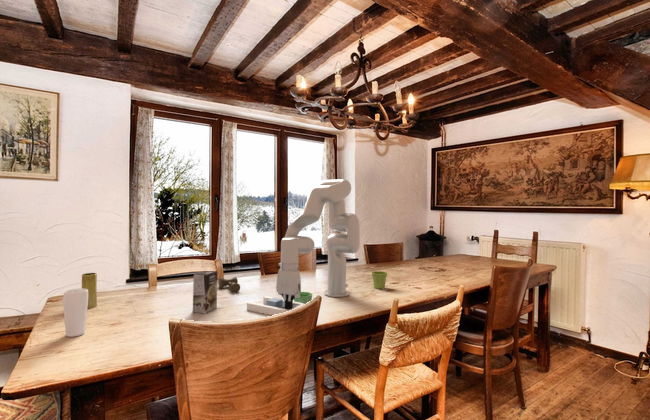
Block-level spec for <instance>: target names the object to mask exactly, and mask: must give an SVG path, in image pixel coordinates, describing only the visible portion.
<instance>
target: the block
mask: <svg viewBox="0 0 650 420" xmlns="http://www.w3.org/2000/svg"><path fill="white" fill-rule="evenodd" d="M265 305H268V306H273V307H277V308H282V309H284V308H283V298H277V297H273V298H271V299H269V300H266V304H265Z"/></svg>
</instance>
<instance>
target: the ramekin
mask: <svg viewBox="0 0 650 420" xmlns="http://www.w3.org/2000/svg"><path fill="white" fill-rule="evenodd" d="M295 295H296V294H295ZM312 298H313V293H312V292H309V291H301V292H300V297H298V298H295V299H294V300H293V301H294V302H300V303H305V304H306V303H307V302H309V301H311V300H313V299H312ZM311 302H312V301H311Z"/></svg>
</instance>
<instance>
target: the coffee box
mask: <svg viewBox="0 0 650 420" xmlns="http://www.w3.org/2000/svg"><path fill="white" fill-rule="evenodd" d="M192 282H193V284H192V288H193V289H192V313H199V314H207V313H208V312H211V311H212V310H214V309H216V308H218V307H217V306H218V304H217V303H218V271H217V270H204V271H200V272H198V273H194V274H193V281H192Z"/></svg>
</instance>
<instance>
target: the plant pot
mask: <svg viewBox="0 0 650 420" xmlns="http://www.w3.org/2000/svg"><path fill="white" fill-rule="evenodd" d="M370 274H371V276H372V282H373V283H372V284H373V289H378V290H379V289H382V290H383V288H384V289H385V288H386V281H387V277H388V274H389V273H388V272H386V271H383V270H382V271H381V270H378V271H377V270H376V271H375V270H374V271H371V272H370Z"/></svg>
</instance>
